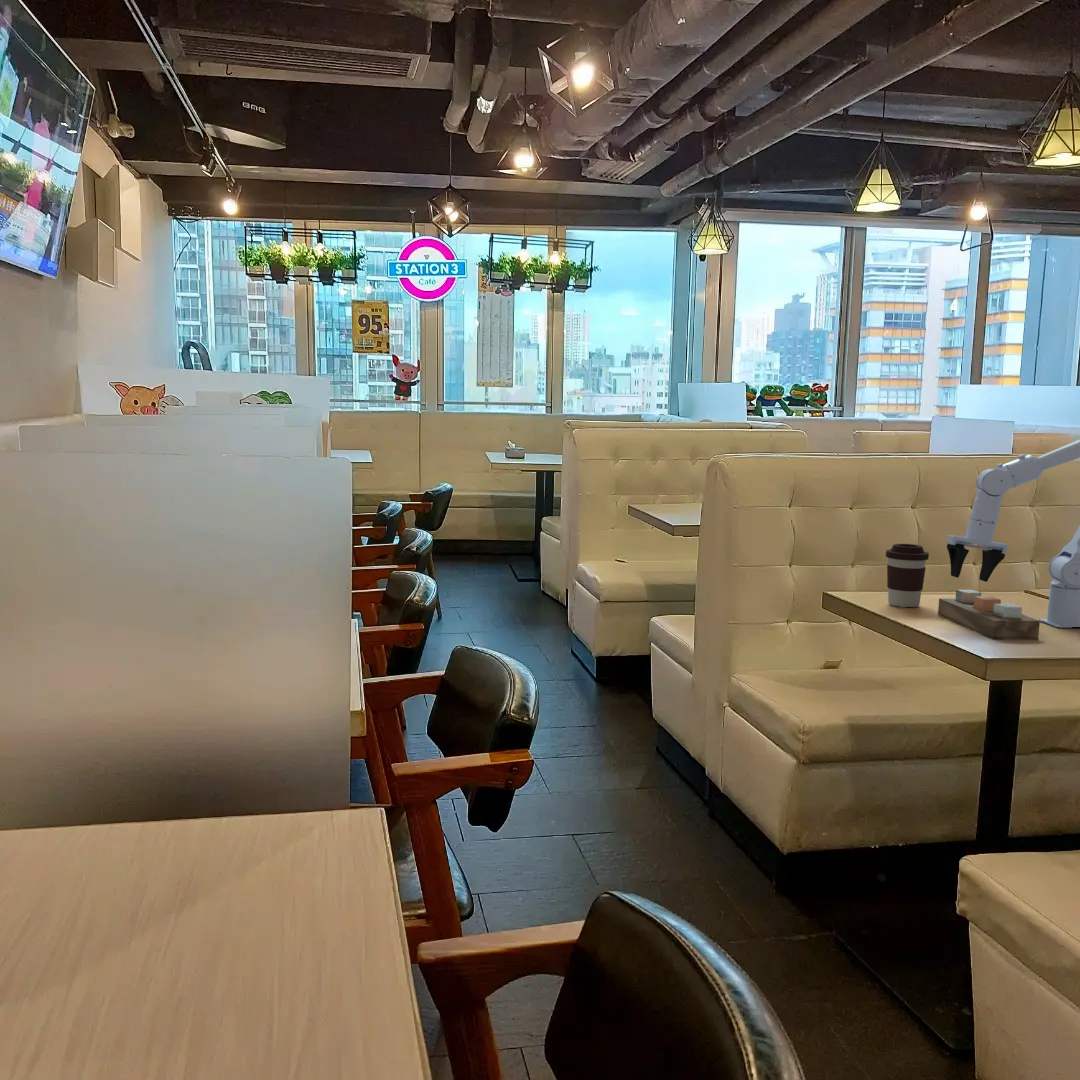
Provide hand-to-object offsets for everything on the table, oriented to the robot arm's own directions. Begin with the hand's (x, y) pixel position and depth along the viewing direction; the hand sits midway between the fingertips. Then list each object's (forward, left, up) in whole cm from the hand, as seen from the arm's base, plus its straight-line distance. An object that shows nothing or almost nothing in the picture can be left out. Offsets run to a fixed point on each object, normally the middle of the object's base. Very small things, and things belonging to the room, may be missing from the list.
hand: (968, 578), depth 231 cm
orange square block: (0, +8, -6) cm, 10 cm away
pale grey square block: (0, +17, -6) cm, 18 cm away
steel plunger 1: (0, 0, -6) cm, 6 cm away
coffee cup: (+8, -16, -10) cm, 21 cm away
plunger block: (0, +8, -10) cm, 12 cm away
